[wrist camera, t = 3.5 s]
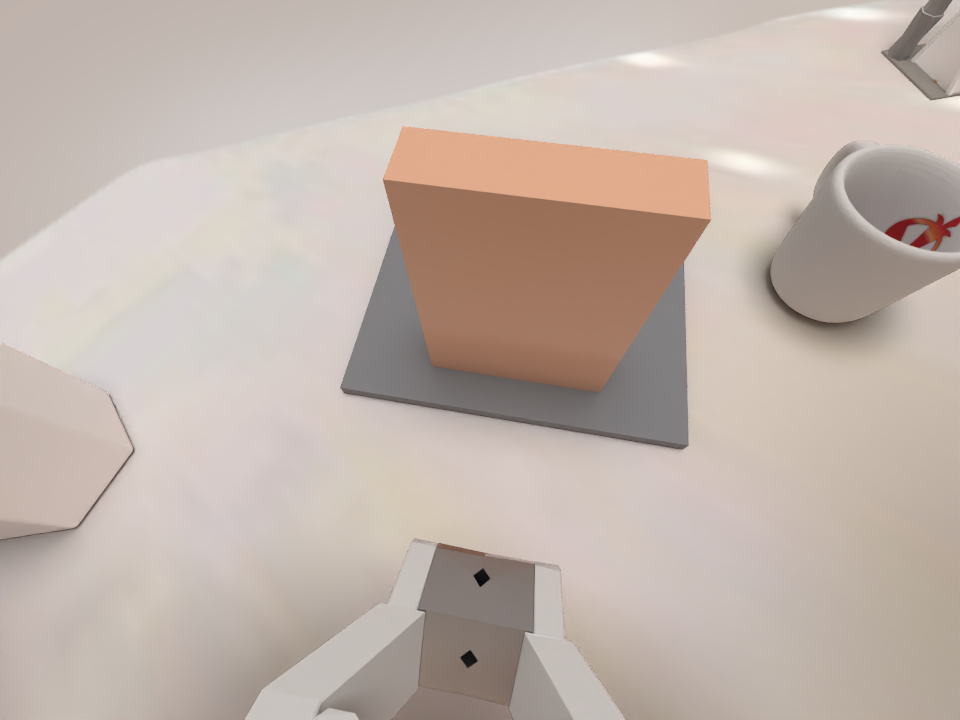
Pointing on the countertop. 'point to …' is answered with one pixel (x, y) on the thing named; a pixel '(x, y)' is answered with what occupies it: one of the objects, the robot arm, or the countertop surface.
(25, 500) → the jar
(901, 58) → the skyscraper
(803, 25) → the countertop surface
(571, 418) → the mat
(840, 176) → the cup
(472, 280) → the peach rectangular block
